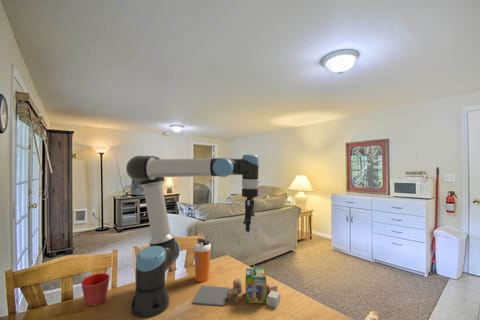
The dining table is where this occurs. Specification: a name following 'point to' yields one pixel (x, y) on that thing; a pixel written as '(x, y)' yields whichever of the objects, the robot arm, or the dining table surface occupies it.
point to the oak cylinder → (237, 285)
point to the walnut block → (232, 295)
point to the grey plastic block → (273, 298)
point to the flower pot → (95, 288)
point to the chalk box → (255, 285)
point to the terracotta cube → (271, 287)
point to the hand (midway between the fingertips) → (248, 234)
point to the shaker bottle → (202, 260)
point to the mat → (211, 296)
